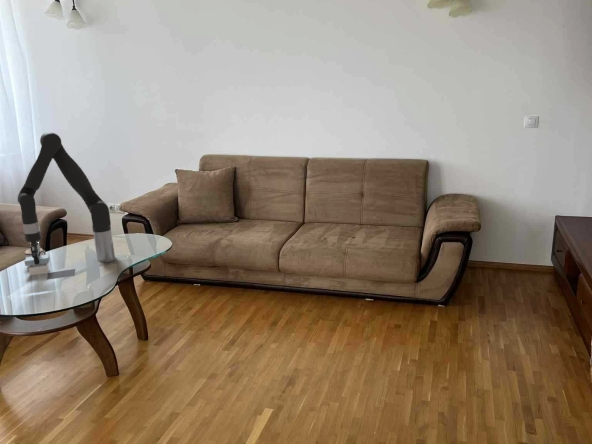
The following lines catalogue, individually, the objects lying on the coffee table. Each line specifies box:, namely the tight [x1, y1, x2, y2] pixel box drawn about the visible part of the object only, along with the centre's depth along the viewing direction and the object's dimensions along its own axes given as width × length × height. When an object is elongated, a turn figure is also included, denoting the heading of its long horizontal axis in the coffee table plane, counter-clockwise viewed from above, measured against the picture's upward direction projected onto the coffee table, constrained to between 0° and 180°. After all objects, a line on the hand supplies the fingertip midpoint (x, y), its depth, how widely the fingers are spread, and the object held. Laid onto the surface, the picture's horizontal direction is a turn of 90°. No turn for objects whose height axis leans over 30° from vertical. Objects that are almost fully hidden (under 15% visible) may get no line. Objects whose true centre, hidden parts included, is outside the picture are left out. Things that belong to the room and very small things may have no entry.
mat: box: [46, 268, 76, 280], centre depth 285 cm, size 13×10×1 cm
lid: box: [24, 253, 51, 267], centre depth 287 cm, size 11×6×3 cm, turn 108°
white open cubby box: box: [27, 262, 51, 276], centre depth 288 cm, size 9×6×5 cm, turn 109°
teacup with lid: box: [24, 247, 47, 268], centre depth 299 cm, size 12×9×12 cm
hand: (37, 261), depth 287 cm, fingers closed on lid, 6 cm apart
